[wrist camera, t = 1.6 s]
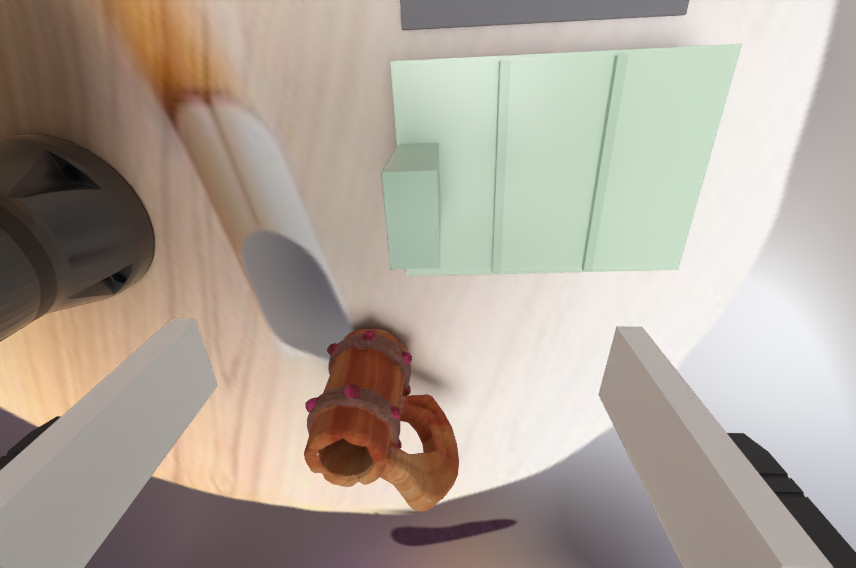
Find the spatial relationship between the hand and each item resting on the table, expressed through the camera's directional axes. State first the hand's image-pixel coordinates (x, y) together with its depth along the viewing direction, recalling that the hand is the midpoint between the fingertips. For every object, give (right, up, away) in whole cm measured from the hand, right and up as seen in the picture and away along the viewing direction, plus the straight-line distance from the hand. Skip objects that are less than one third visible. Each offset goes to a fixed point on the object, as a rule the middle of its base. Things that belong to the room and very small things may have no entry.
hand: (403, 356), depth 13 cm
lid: (+9, +10, +15) cm, 20 cm away
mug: (-3, -6, +31) cm, 31 cm away
